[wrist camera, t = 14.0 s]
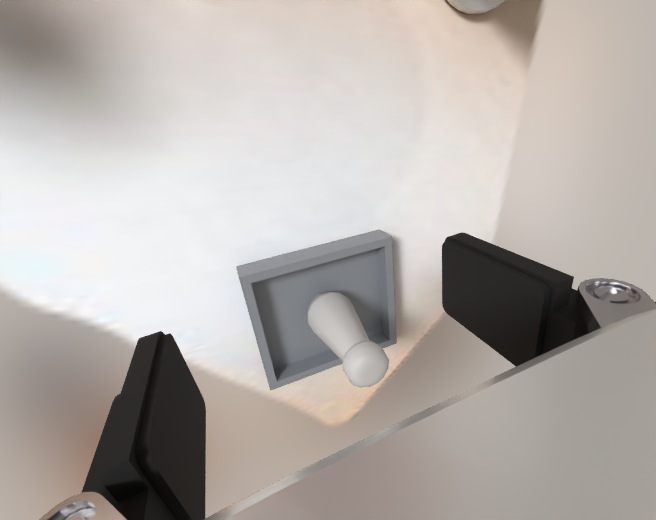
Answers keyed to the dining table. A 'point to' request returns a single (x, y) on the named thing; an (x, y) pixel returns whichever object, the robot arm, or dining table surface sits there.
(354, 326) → the salt shaker
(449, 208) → the dining table surface
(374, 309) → the tray
